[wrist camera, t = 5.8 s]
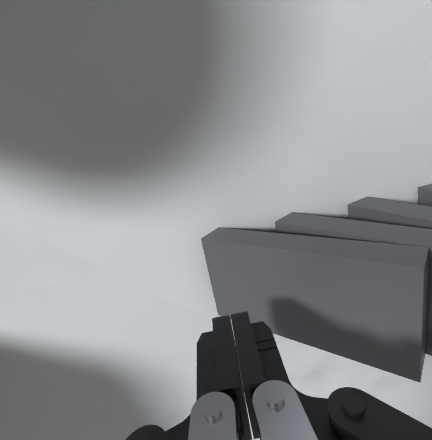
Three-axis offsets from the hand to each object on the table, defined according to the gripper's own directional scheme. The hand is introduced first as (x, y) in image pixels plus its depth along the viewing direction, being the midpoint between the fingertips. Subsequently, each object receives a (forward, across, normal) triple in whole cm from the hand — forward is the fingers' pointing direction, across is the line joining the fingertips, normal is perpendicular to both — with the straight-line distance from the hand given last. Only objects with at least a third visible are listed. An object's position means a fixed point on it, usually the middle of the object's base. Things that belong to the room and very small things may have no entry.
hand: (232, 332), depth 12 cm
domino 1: (+5, 0, 0) cm, 5 cm away
